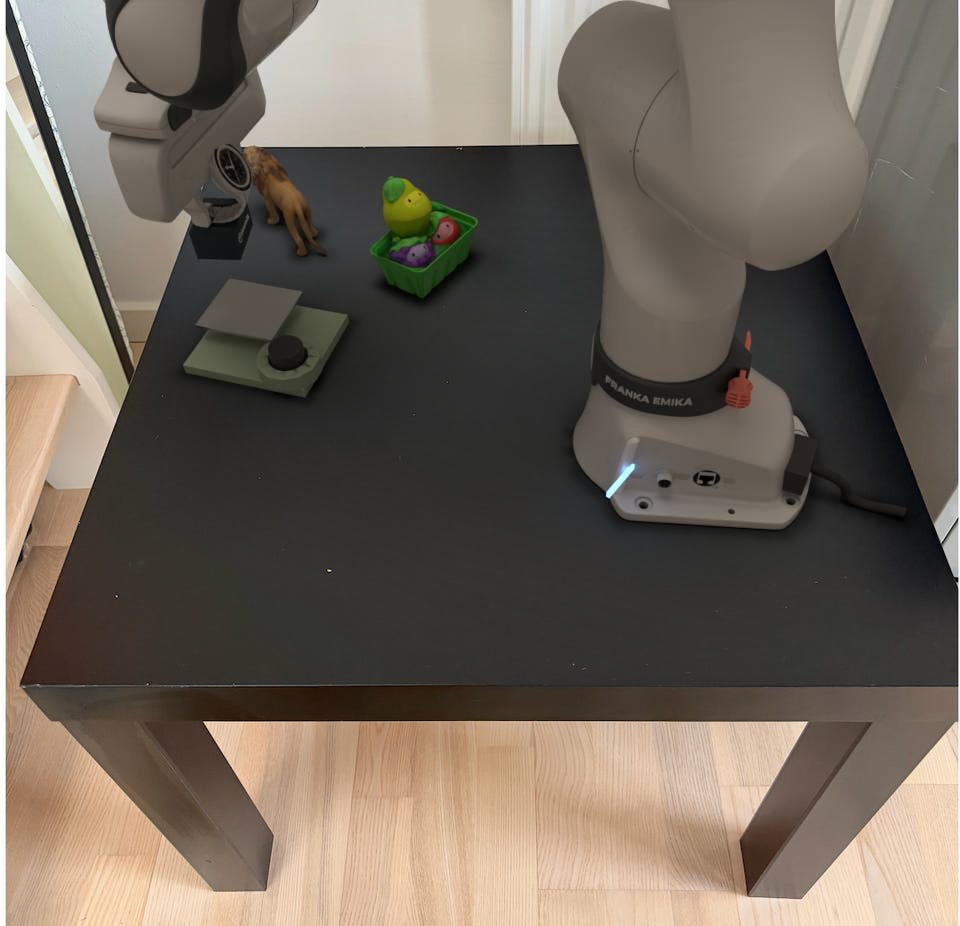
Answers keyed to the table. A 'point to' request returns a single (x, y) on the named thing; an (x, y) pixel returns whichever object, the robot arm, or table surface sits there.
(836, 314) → the table surface
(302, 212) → the lion figurine
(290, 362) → the knob
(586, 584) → the table surface
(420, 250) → the fruit basket
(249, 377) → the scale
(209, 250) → the watch
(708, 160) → the robot arm
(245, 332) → the weigh plate
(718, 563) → the table surface
